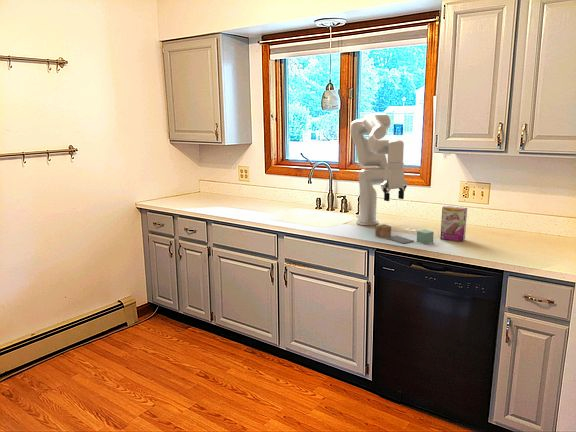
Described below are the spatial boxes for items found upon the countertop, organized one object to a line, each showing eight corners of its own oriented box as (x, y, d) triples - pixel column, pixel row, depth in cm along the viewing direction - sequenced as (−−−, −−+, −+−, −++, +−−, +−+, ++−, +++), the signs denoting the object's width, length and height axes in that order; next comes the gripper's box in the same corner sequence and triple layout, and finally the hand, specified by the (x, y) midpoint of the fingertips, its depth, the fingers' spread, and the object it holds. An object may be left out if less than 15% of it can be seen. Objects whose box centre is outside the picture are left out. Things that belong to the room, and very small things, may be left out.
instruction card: (403, 229, 257) (403, 228, 257) (409, 228, 259) (409, 227, 259) (411, 231, 252) (411, 230, 252) (417, 230, 254) (417, 229, 254)
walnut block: (375, 235, 245) (375, 225, 244) (383, 234, 248) (383, 224, 246) (382, 238, 240) (382, 227, 239) (390, 236, 243) (391, 226, 242)
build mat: (386, 238, 239) (386, 237, 239) (397, 236, 242) (397, 235, 242) (403, 243, 229) (403, 242, 228) (414, 241, 232) (414, 240, 232)
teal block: (416, 241, 232) (416, 230, 231) (424, 240, 235) (425, 229, 234) (424, 244, 228) (425, 233, 227) (433, 242, 230) (433, 231, 229)
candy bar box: (439, 239, 236) (441, 207, 233) (442, 237, 240) (444, 205, 237) (463, 242, 230) (465, 209, 227) (465, 239, 235) (467, 207, 231)
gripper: (402, 164, 242) (401, 197, 245) (376, 166, 233) (375, 200, 236) (413, 165, 235) (411, 199, 239) (387, 167, 227) (386, 202, 230)
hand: (393, 199), depth 238 cm, fingers open, 9 cm apart
